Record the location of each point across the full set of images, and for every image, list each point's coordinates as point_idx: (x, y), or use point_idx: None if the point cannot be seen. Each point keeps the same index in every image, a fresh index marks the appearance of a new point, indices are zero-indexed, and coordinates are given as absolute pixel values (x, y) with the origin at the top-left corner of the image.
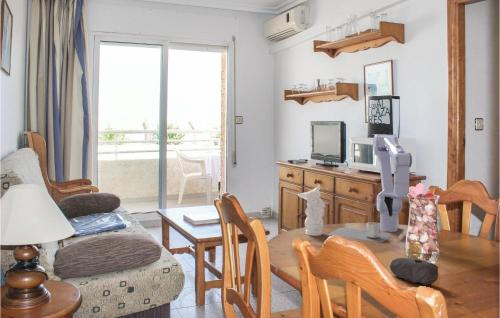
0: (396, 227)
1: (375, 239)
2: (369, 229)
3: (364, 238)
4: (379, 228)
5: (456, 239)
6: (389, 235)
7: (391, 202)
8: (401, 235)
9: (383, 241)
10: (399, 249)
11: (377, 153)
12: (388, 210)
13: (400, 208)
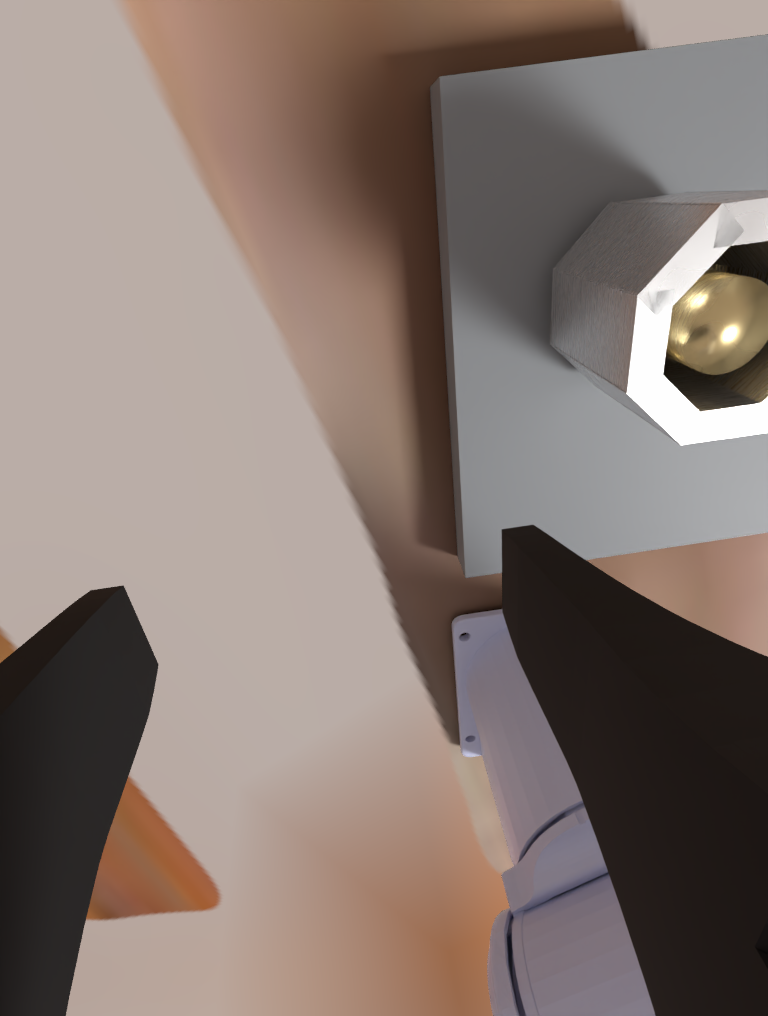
0: (479, 714)
1: (574, 196)
2: (746, 194)
3: (723, 143)
4: (601, 325)
5: None
6: (476, 503)
7: (663, 877)
8: (415, 661)
9: (448, 151)
10: (183, 71)
11: None
12: (613, 581)
13: (500, 955)
